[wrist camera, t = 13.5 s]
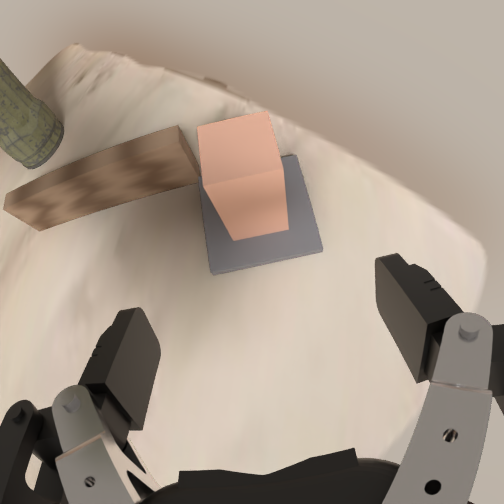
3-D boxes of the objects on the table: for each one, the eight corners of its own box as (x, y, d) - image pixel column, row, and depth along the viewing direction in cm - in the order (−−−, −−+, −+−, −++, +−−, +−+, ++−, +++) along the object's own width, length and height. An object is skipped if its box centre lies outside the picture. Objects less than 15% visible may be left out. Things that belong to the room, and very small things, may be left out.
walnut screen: (39, 231, 34) (3, 209, 27) (41, 217, 35) (5, 194, 28) (200, 181, 32) (178, 141, 26) (198, 166, 33) (177, 125, 26)
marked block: (233, 241, 29) (203, 186, 19) (225, 191, 31) (196, 125, 21) (288, 229, 28) (283, 168, 19) (277, 180, 30) (267, 109, 21)
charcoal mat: (213, 275, 29) (210, 272, 28) (200, 181, 32) (198, 176, 32) (322, 251, 28) (323, 248, 28) (296, 160, 32) (296, 154, 31)
